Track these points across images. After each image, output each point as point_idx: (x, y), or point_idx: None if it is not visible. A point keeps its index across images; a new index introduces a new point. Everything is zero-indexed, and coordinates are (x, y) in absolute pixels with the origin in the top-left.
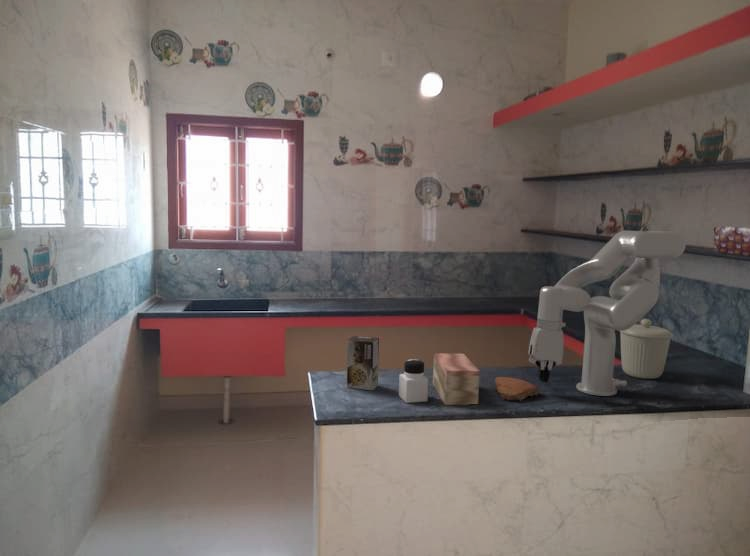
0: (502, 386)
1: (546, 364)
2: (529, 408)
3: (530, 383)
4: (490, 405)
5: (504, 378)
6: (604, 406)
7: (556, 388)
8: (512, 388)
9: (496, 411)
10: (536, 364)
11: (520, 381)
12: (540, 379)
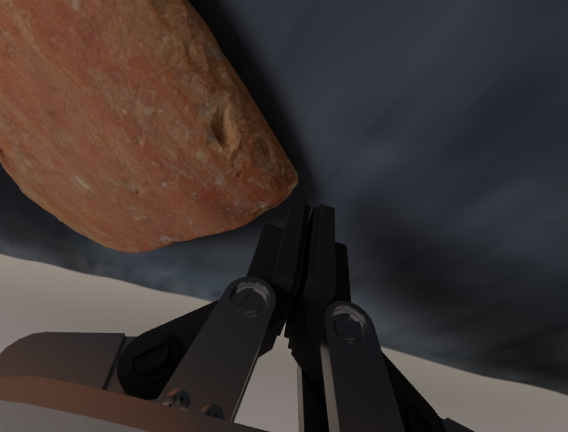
0: (27, 182)
1: (328, 363)
2: (172, 282)
3: (220, 180)
4: (41, 224)
5: (6, 34)
6: (459, 354)
7: (542, 89)
8: (85, 224)
9: (64, 267)
10: (176, 329)
11: (136, 166)
12: (285, 222)
